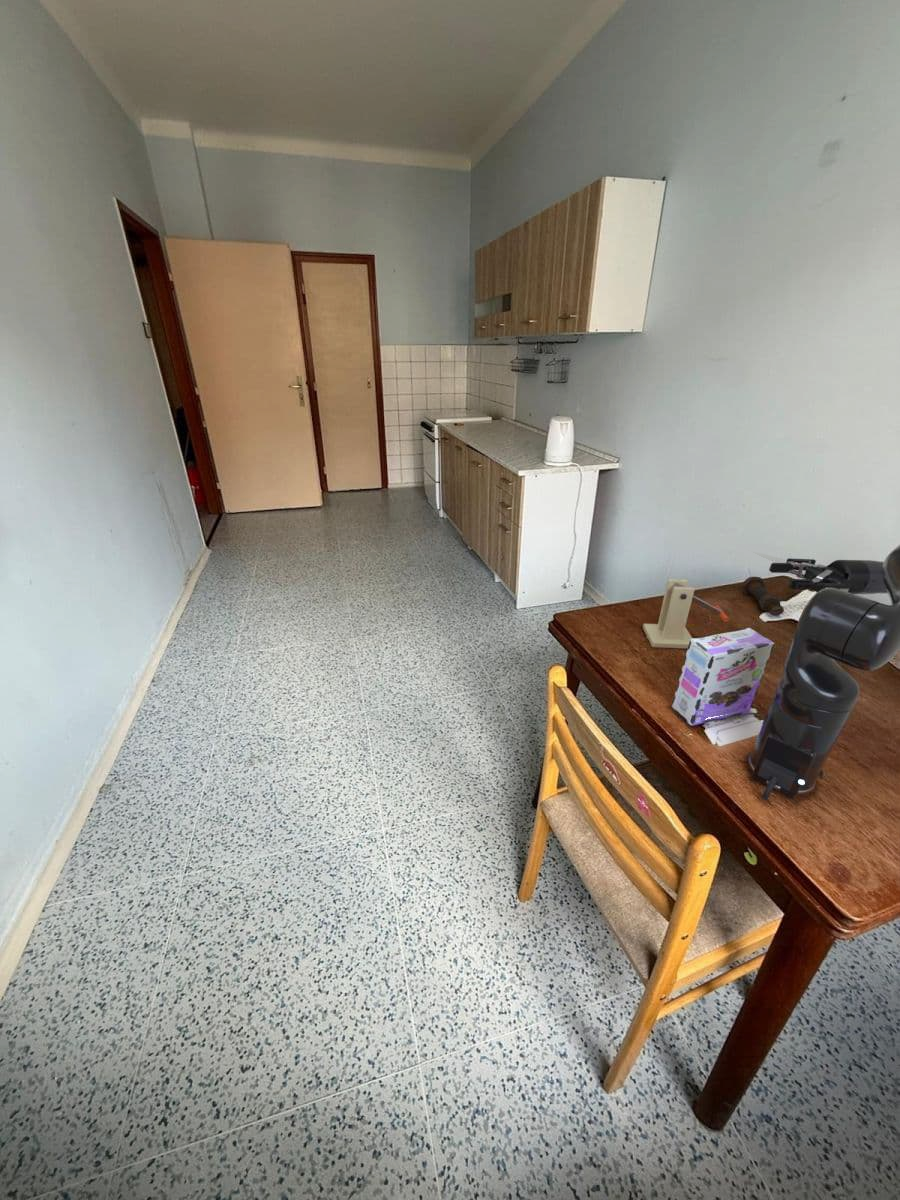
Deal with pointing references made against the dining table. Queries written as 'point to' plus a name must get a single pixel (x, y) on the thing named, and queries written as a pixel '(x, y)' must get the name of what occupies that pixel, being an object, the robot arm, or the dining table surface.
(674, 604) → the bracket
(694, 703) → the candy box
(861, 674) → the dining table surface
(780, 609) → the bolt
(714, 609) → the lever
